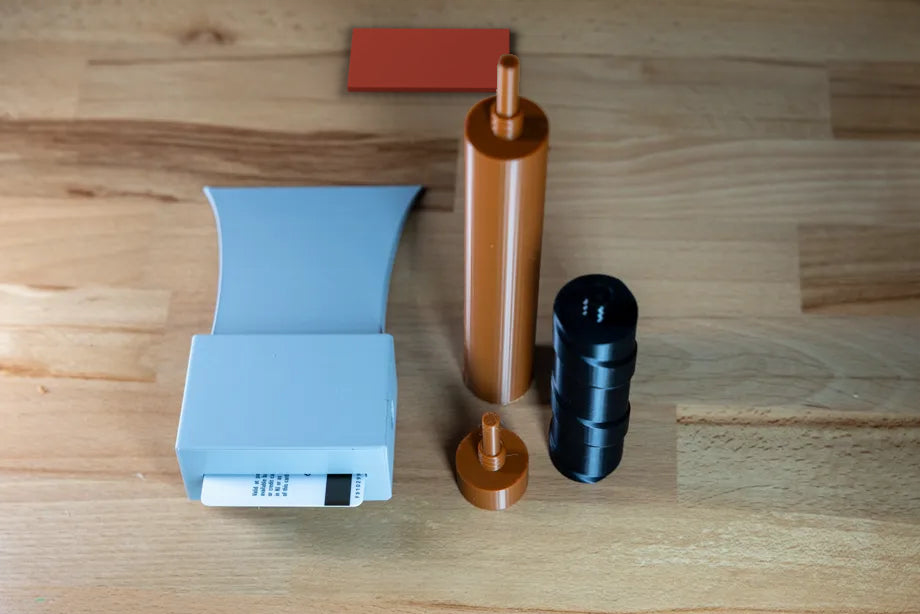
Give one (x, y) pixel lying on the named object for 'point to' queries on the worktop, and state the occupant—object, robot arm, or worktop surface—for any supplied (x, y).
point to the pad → (426, 59)
